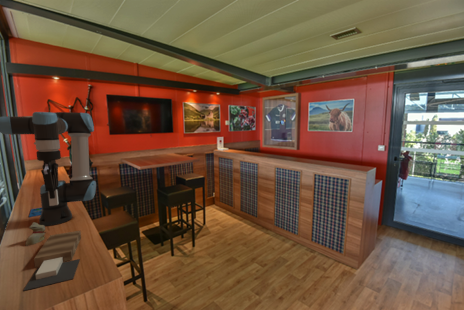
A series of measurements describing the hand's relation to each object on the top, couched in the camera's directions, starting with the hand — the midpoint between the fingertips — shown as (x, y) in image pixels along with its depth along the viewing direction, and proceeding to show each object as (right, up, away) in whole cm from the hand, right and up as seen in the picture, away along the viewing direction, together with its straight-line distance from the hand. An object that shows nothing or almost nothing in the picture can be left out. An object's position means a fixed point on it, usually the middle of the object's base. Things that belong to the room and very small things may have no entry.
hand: (54, 204), depth 91 cm
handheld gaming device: (-50, -16, +48) cm, 72 cm away
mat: (+8, -24, -9) cm, 27 cm away
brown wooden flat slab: (-2, -22, +5) cm, 23 cm away
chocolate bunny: (-20, -21, +13) cm, 32 cm away
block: (+5, -24, -8) cm, 25 cm away
